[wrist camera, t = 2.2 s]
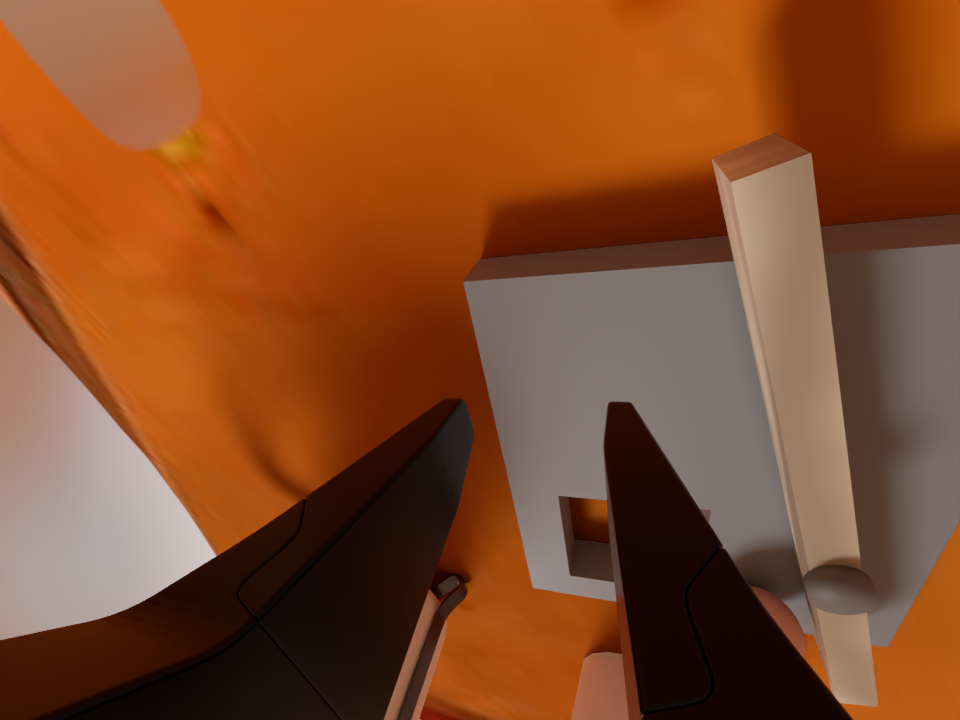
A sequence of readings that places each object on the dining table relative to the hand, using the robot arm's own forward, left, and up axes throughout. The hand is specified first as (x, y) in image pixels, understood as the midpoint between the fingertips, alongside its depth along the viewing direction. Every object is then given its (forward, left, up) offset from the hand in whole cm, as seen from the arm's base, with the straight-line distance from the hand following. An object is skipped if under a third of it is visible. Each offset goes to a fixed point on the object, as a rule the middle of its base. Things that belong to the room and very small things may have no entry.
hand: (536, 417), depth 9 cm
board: (-5, +11, -11) cm, 16 cm away
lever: (-8, +9, -8) cm, 14 cm away
